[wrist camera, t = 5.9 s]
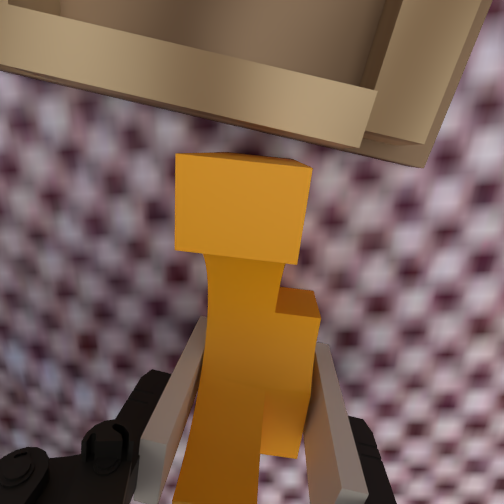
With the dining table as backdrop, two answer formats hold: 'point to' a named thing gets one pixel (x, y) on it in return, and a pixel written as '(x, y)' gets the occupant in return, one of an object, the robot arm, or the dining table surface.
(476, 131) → the dining table surface
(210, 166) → the orange stepped block
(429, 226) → the dining table surface
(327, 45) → the tray
